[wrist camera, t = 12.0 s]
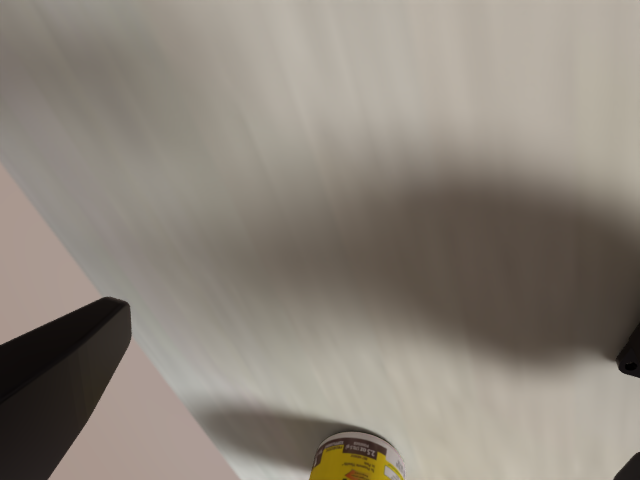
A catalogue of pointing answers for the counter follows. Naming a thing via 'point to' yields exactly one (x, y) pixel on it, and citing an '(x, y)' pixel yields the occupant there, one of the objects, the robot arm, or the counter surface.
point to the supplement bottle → (357, 459)
